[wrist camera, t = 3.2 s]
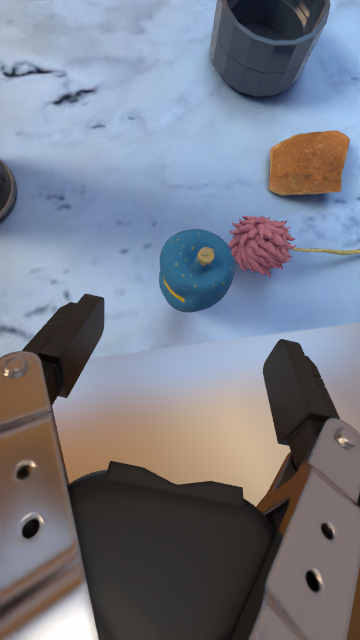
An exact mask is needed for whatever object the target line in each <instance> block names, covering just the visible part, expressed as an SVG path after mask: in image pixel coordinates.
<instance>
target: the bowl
mask: <svg viewBox="0 0 360 640" xmlns="http://www.w3.org/2000/svg"><path fill="white" fill-rule="evenodd" d="M329 9H330V0H217V5H216V11H215V18H214V25H213V31H212V38H211V44H210V51H211V57H212V63H213V65H214V67H215V68H216V70H217V71H218V73H219V74H220V76H221V78H222V79H223V80H224V81H226V82H227V83H228V84H229V85H230V86H231V87H232V88H234V89H235V90H237V91H239V92H241V93H243V94H246V95H250V96H256V97H262V96H271V95H276V94H278V93H280V92H283V91H285V90H287V89H289V88H290V87H291V86H292V85H293V84H294V82H295V81H296V80H297V79H298V77H299V76H300V74H301V72H302V70H303V68H304V66H305V65H306V63H307V61H308V59H309V57H310V55H311V53H312V50H313V48H314V46H315V45H316V43H317V41H318V39H319V37H320V35H321V33H322V31H323V29H324V27H325V25H326V23H327V18H328V14H329Z"/></svg>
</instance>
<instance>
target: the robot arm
mask: <svg viewBox="0 0 360 640" xmlns="http://www.w3.org/2000/svg"><path fill="white" fill-rule="evenodd" d="M15 197H16V183H15V180H14V177H13V175H12V173H11V171H10V170H9V169H8V167H7V166H6V165H5V164H4V163H3V162H2V161H1V160H0V220H2V219H3V218H4V217H5V216H6V215H7V214H8V212H9V211H10V209H11V208H12V206H13V204H14V201H15ZM103 329H104V298H103V297H99V296H94V295H90V294H84V295H83V297H82V298H81V299H80V300H79V302H78V303H72V302H70V303H68V304H66V305H64V306H62V307H61V308H59V309H58V310H57V312H56V313H55V314H54V315H53V317H52V318H50V319H49V321H48V322H47V324H45V325H44V326H43V327H42V329H41V330H40V331H39V332H38V333H37V334H36V335H35V336H34V338H33V339H32V340H31V341H30V342H29V343H28V344H27V345H26V347H25V348H24V349H23V350H22V351H18V352H13V353H9V354H7V355H4V356H3V357H1V358H0V640H346V639H347V634H348V628H349V622H350V617H351V611H352V605H353V600H354V595H355V589H356V583H357V577H358V572H359V567H360V434H359V433H358V432H357V431H356V430H355V429H354V428H353V427H352V426H351V425H349V424H348V423H346V422H344V421H342V420H340V418H339V416H338V413H337V411H336V409H335V407H334V404H333V402H332V400H331V398H330V396H329V393H328V391H327V389H326V387H324V386H325V384H324V382H323V380H322V379H321V376H320V373H319V371H318V369H317V367H316V366H315V364H314V363H313V362H312V361H311V360H310V359H309V357H308V356H305V355H304V352H303V350H302V348H301V345H300V344H299V343H297V342H292V341H288V340H284V339H280V340H279V341H278V342H277V344H276V345H275V347H274V348H273V350H272V352H271V353H270V355H269V356H268V358H267V359H266V361H265V363H264V367H263V375H264V380H265V385H266V389H267V394H268V399H269V403H270V408H271V413H272V417H273V422H274V426H275V431H276V435H277V441H278V443H279V444H283V445H288V446H290V450H291V452H290V453H289V454H288V455H287V457H286V459H285V460H284V462H283V464H282V466H281V468H280V470H279V472H278V474H277V476H276V477H275V479H274V481H273V483H272V485H271V487H270V489H269V491H268V492H267V494H266V495H265V497H264V498H263V499H262V500H261V501H260V503H259V504H258V505H257V507H255V506H254V505H252V504H251V503H250V502H248V501H247V500H245V499H244V498H243V488H242V487H237V486H232V485H227V484H223V483H218V482H213V481H207V482H198V483H189V484H180V485H176V484H173V483H171V482H170V481H168V480H166V479H164V478H162V477H160V476H158V475H156V474H155V473H153V472H151V471H149V470H147V469H145V468H142V467H138V466H133V465H128V464H123V463H119V462H114V461H110V463H109V467H108V470H102V471H97V472H93V473H90V474H87V475H85V476H82V477H80V478H78V479H77V480H75V481H73V482H72V483H70V484H69V481H68V477H67V472H66V468H65V463H64V459H63V454H62V450H61V445H60V442H59V437H58V431H57V427H56V422H55V418H54V413H53V408H52V404H53V403H54V401H55V400H56V398H57V396H60V397H64V398H67V397H68V395H69V394H70V392H71V390H72V388H73V387H74V385H75V383H76V381H77V379H78V377H79V376H80V374H81V372H82V370H83V369H84V367H85V365H86V363H87V361H88V359H89V358H90V356H91V354H92V352H93V350H94V349H95V347H96V345H97V343H98V341H99V340H100V338H101V336H102V333H103Z"/></svg>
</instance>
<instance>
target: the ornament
mask: <svg viewBox="0 0 360 640" xmlns="http://www.w3.org/2000/svg"><path fill="white" fill-rule="evenodd" d="M160 269H161V270H160V275H159V284H160V288H161V291H162V293H163V295H164V296H165V298H166V300H167V302H168V303H169V304H170V305H171V306H172V307H173V308H175V309H177V310H179V311H183V312H196V311H199V310H203V309H206V308H208V307H211V306H212V305H214V304H216V303H217V302H218V301H220V300H221V299H222V298H223V297H224V295H225V294H226V293H227V291H228V289H229V288H230V286H231V283H232V280H233V276H234V269H235V265H234V259H233V255H232V252H231V250H230V248H229V246H228V245H227V244H226V242H225V241H224V240H223V239H221V238H220V237H219V236H217V235H216V234H214V233H212V232H209V231H206V230H201V229H191V230H186V231H182V232H179V233H177V234H175V235H174V236H172V237H171V238H170V239H169V240H168V241H167V242H166V243H165V245H164V246H163V248H162V251H161V254H160Z"/></svg>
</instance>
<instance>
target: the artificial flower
mask: <svg viewBox="0 0 360 640" xmlns="http://www.w3.org/2000/svg"><path fill="white" fill-rule="evenodd" d="M242 217H243V218H244V219H245V220H244V221H241V219H240V218H239V221H240V223H238V224H234V223H233V222H232V223H233V225H234V226H235V227H236V228H237V229H235V230H234V231H230V233H231V234H233V235H235V236H234V237H233V239H232V240H231V241H230V243H229V245H228V246H229V247H232V249H231V252H232V255H233V257H235V261H236V262H237V263H238V264H239V266H240V268H241V269H242V270H243V271H245V270H246V271H247V269H246V268H249V269H251V271H252V273H253V270H254V272H255V270H256V271H258V272H260V274H261V273H262V275H263V276H264V274H268V275H269V276H270V277H271V273H270V272H269V271H268V269H272V268H279V267H280V268H281V269H282V270H283V267H282V263H287V262H288V261H290V260H288V259H289V258H291V256H290V254H289V251H288V249H289V250H296V251H303V252H324V253H331V254H338V255H351V254H360V249H358V250H348V251H340V250H329V249H301V248H294V247H295V246H292V245H290V244H291V243H289V242H288V241H287V240H290V241H292V240H295V239H294V238H291V236H290V235H289V234H288V233H287V232H290V231H287V230H288V229H289V228H290V227H289V228H286V227H284V226H283V225H285V224H286V222H287V221H285V222H284V223H283V221H281V222H278V221H276V220H274V221H269V219H270V217H269V218H265V217H259V218H258V217H248V216H242ZM280 268H279V269H280Z"/></svg>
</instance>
